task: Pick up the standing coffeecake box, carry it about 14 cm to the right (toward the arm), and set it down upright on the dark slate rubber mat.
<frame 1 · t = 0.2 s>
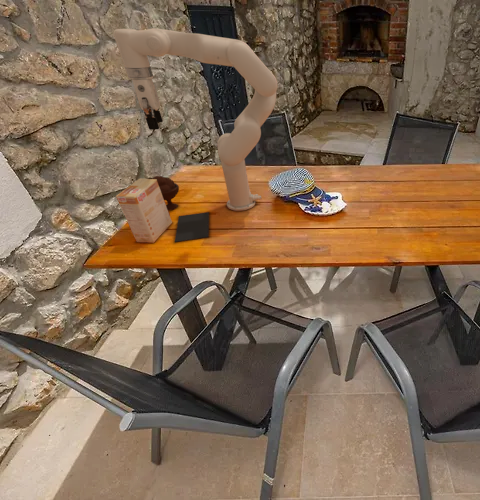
hand: (156, 125, 117), 37 cm above the table, tool pointing down, fingers open, 9 cm apart
ice cream bowl: (171, 207, 142), on the table
mat: (193, 226, 130), on the table
coffeecake box: (155, 232, 126), on the table
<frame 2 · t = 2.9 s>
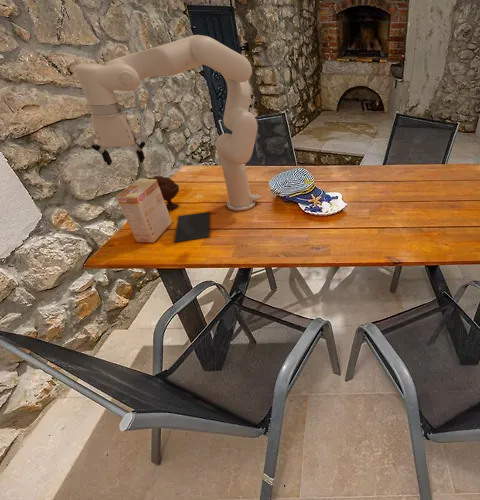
hand: (126, 162, 109), 29 cm above the table, tool pointing down, fingers open, 9 cm apart
nothing on the table moved.
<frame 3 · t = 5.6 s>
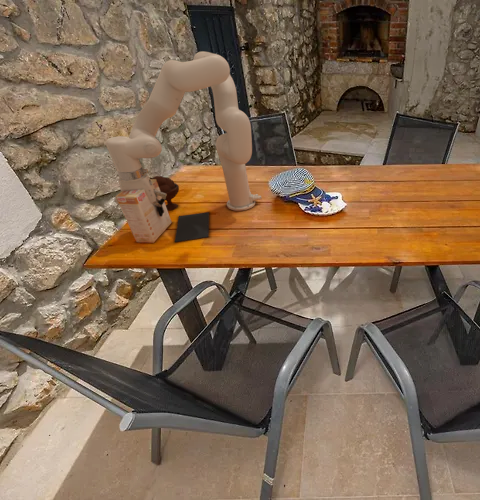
hand: (148, 216, 122), 7 cm above the table, tool pointing down, fingers closed on coffeecake box, 8 cm apart
coffeecake box: (155, 232, 126), on the table, touching gripper
everything else where it was.
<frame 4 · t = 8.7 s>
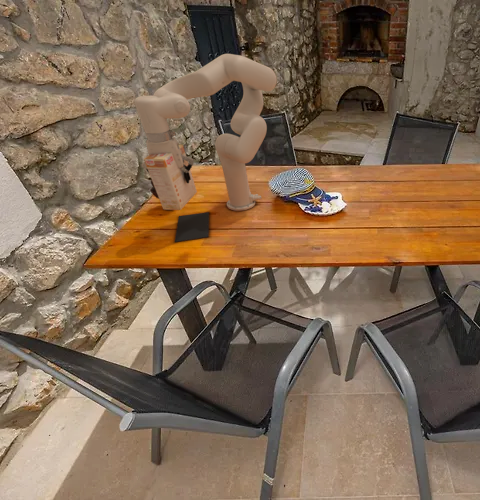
hand: (175, 183, 118), 19 cm above the table, tool pointing down, fingers closed on coffeecake box, 8 cm apart
coffeecake box: (181, 200, 123), point 12 cm above the table, touching gripper
everything else where it was.
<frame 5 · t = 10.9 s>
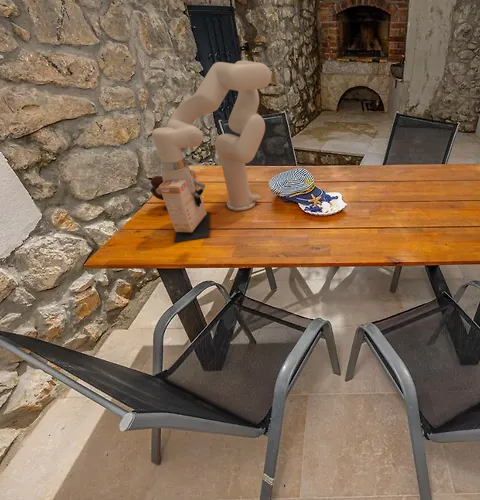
hand: (186, 206, 124), 9 cm above the table, tool pointing down, fingers closed on coffeecake box, 8 cm apart
coffeecake box: (191, 222, 129), point 2 cm above the table, touching gripper
everything else where it was.
when the fingers open (8 cm above the table, at t = 12.1 s): coffeecake box stays where it is, resting on mat.
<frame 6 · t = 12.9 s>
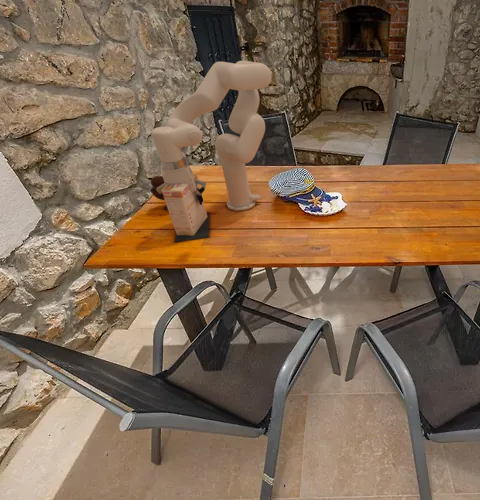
hand: (188, 205, 125), 10 cm above the table, tool pointing down, fingers open, 9 cm apart
coffeecake box: (192, 226, 130), resting on mat, touching gripper
everything else where it was.
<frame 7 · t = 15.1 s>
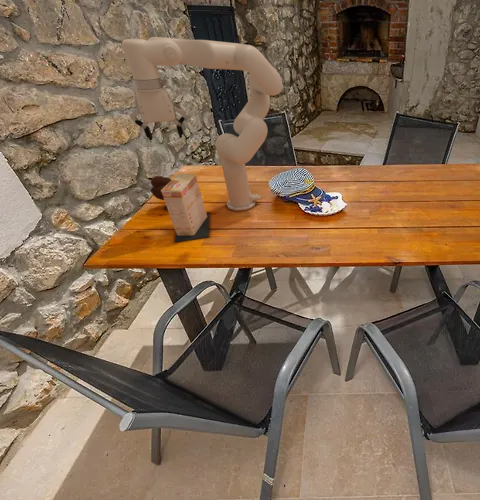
hand: (166, 138, 113), 35 cm above the table, tool pointing down, fingers open, 9 cm apart
coffeecake box: (193, 226, 130), resting on mat
everything else where it was.
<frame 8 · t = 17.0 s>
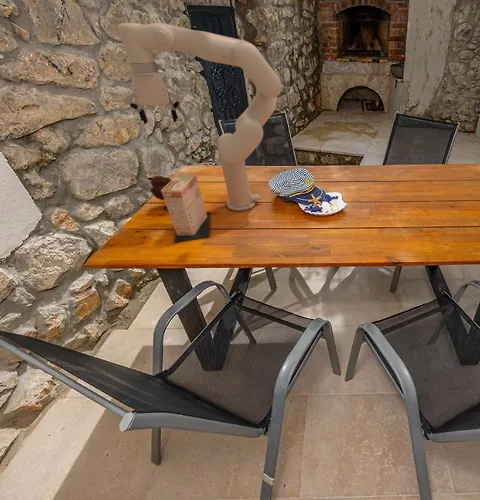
hand: (160, 121, 116), 38 cm above the table, tool pointing down, fingers open, 9 cm apart
nothing on the table moved.
at the end: coffeecake box inside the target area on the mat (0.0 cm from its centre), point 0.2 cm above the mat's base; coffeecake box tilted 0°; the gripper is holding nothing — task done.
